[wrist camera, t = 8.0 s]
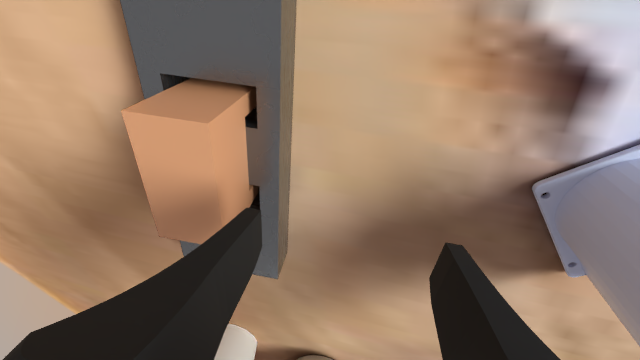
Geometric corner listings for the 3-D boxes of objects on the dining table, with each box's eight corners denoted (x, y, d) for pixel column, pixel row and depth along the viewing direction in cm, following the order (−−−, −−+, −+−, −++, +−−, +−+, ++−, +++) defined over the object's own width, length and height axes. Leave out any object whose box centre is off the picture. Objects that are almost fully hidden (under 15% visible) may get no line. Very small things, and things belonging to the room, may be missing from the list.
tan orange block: (264, 182, 22) (225, 248, 17) (214, 174, 23) (159, 236, 17) (261, 81, 18) (208, 123, 12) (201, 73, 18) (120, 110, 13)
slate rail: (287, 251, 26) (277, 279, 24) (202, 236, 27) (184, 261, 24) (299, -65, 14) (282, -77, 12) (144, -79, 15) (96, -94, 12)
